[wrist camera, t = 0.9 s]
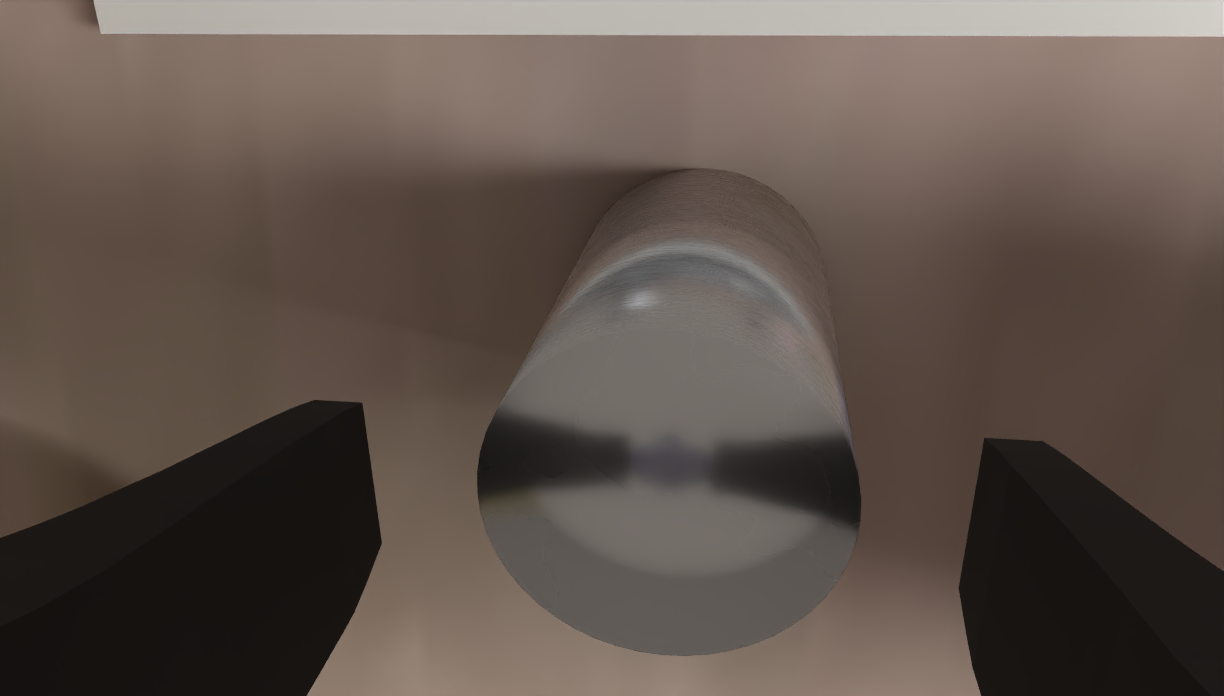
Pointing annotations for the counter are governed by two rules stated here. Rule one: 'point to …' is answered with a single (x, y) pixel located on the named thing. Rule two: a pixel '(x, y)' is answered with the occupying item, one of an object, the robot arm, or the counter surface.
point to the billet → (680, 427)
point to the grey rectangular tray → (667, 17)
